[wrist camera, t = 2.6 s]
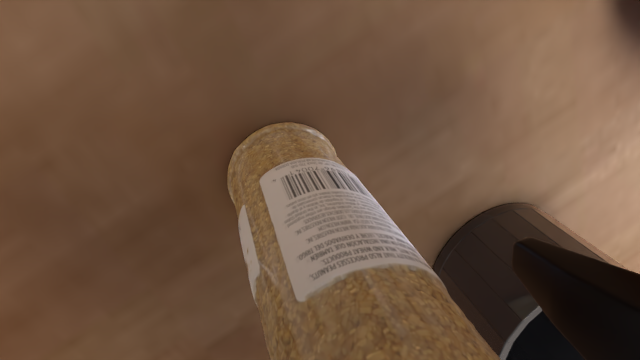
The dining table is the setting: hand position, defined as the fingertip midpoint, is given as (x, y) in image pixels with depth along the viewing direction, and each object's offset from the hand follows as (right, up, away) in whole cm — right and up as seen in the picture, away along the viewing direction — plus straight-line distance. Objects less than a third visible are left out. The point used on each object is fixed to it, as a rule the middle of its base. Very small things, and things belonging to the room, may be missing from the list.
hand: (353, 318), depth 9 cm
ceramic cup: (+9, -1, +13) cm, 16 cm away
